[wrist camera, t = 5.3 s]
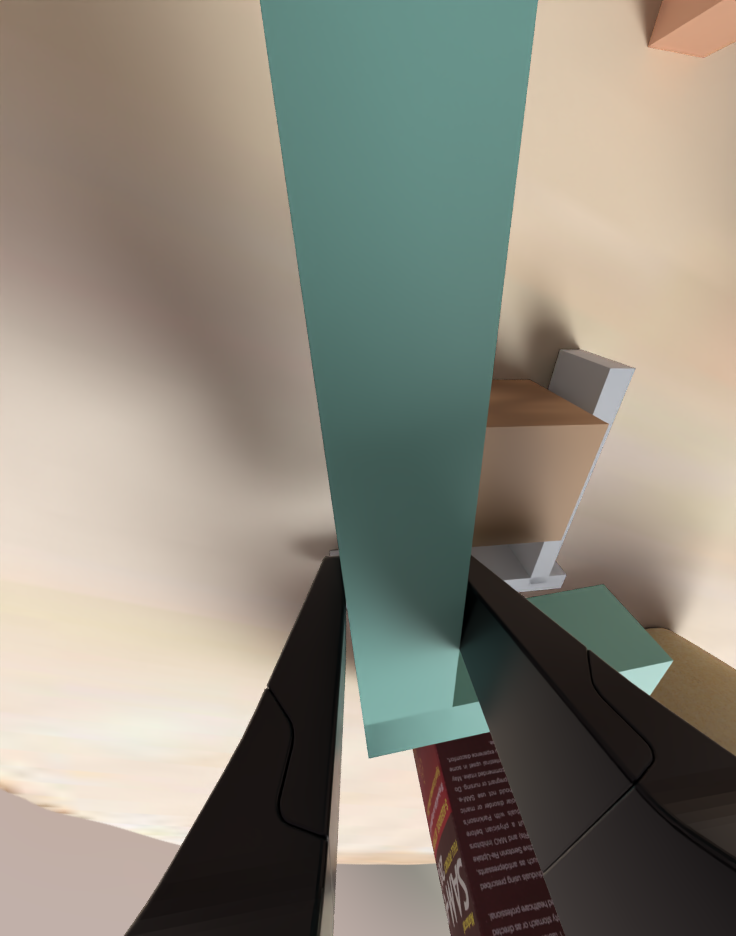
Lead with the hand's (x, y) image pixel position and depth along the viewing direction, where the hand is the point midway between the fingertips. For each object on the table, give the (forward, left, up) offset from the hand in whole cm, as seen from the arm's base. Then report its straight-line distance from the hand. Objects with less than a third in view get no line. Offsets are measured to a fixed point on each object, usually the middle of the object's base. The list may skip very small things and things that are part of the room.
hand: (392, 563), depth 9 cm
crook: (-3, -2, -1) cm, 4 cm away
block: (-5, 0, -8) cm, 10 cm away
